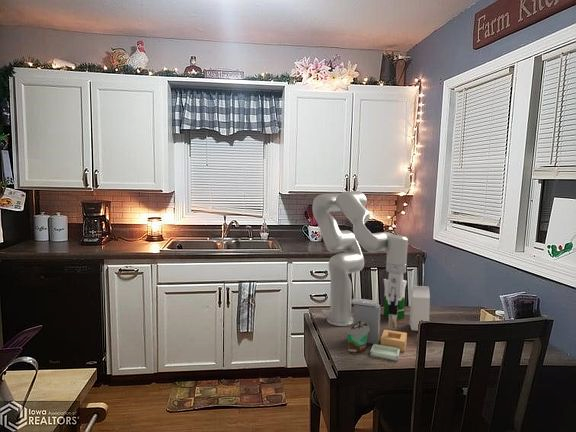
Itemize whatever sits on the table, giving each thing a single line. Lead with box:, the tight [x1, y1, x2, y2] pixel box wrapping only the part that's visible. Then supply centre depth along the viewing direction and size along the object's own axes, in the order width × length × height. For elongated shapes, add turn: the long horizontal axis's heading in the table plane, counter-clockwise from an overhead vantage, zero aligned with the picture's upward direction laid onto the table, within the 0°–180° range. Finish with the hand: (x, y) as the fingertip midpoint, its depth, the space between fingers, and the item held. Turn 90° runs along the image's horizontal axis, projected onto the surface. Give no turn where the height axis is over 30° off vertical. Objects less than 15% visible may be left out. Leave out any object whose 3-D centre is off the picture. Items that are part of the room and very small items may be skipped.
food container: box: [346, 319, 370, 354], centre depth 148 cm, size 12×6×10 cm, turn 148°
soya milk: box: [382, 273, 408, 320], centre depth 183 cm, size 9×9×20 cm
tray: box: [369, 344, 401, 362], centre depth 145 cm, size 10×7×2 cm
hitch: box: [352, 304, 408, 353], centre depth 154 cm, size 20×9×15 cm, turn 67°
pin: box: [388, 296, 398, 329], centre depth 152 cm, size 3×3×14 cm
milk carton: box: [409, 285, 431, 332], centre depth 169 cm, size 7×7×19 cm
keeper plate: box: [351, 297, 379, 307], centre depth 156 cm, size 10×4×1 cm, turn 67°
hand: (393, 312), depth 152 cm, fingers closed on pin, 3 cm apart
